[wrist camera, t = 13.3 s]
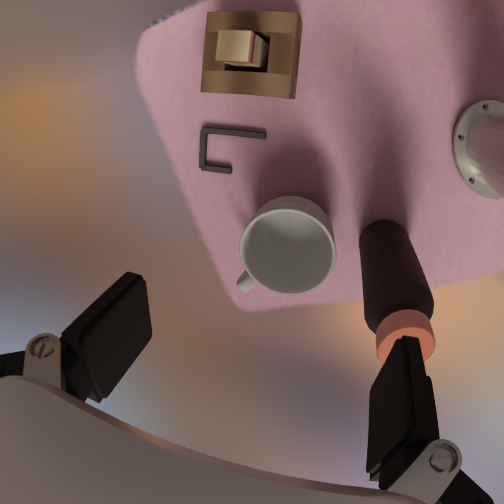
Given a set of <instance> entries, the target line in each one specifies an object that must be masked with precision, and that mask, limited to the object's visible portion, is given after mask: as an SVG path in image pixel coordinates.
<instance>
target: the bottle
mask: <svg viewBox="0 0 504 504" xmlns="http://www.w3.org/2000/svg"><path fill="white" fill-rule="evenodd" d="M359 248H360V258H361V270H362V283H363V298H364V317H365V321H366V323H367V325H368V327H369V329H370V330H372V331H373V332H374V333H375V334H376V348H377V357H378V359H379V360H380V362H381V363H382V364H384V362H385V361H386V359H387V357H388V355H389V353H390V351H391V349H392V347H393V345H394V343H395V341H396V339H397V338H399V339H401V337H402V336H403V335H406V336H412V337H418V338H419V341H420V345H421V350H422V355H423V360H424V362H425V361H426V360H427V359H428V358H429V357H430V356H431V355H432V353H433V351H434V348H435V337H434V334H433V330H432V327H431V324H430V319H431V317H432V314H433V309H434V300H433V297H432V293H431V291H430V288H429V285H428V283H427V280H426V277H425V275H424V272H423V270H422V267H421V265H420V263H419V260H418V258H417V255H416V253H415V251H414V248H413V246H412V244H411V241H410V239H409V237H408V235H407V232H406V231H405V230H404V228H403V227H402V226H401V225H399V224H398V223H396V222H394V221H390V220H380V221H376V222H374V223H372V224H370V225H369V226H368V227H367V228H366V229H365V230H364V232H363V233H362V235H361V237H360V242H359Z"/></svg>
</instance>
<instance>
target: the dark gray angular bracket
mask: <svg viewBox="0 0 504 504" xmlns="http://www.w3.org/2000/svg"><path fill="white" fill-rule="evenodd" d="M208 134H220V135H231V136H240V137H250V138H258V139H266V133H261V132H252V131H242V130H232V129H221V128H208V127H205V128H203V130H201V133H200V154H199V168H201V170H202V171H210V172H218V173H226V174H231V173H232V168H231V167H223V166H215V165H206V155H207V136H208Z"/></svg>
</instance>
